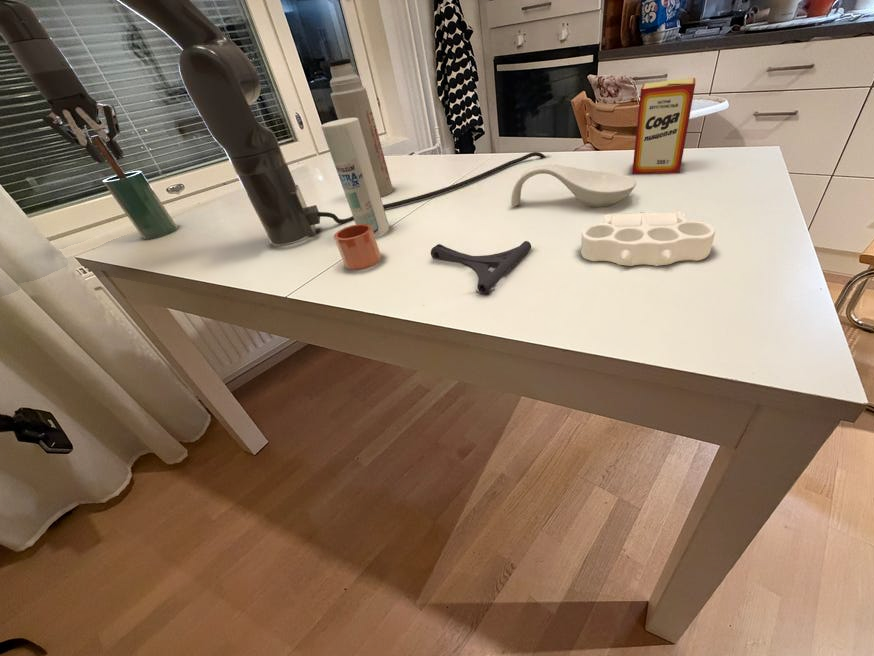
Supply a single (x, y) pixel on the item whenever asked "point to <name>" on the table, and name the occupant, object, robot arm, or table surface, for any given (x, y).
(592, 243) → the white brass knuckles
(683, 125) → the baking soda box
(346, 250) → the holder
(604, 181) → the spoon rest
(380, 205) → the spray can
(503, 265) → the bracket
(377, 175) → the thermos bottle
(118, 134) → the robot arm
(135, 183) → the cup
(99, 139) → the long wooden handle
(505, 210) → the table surface
